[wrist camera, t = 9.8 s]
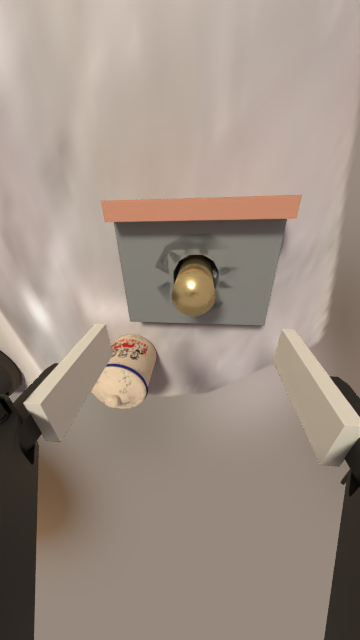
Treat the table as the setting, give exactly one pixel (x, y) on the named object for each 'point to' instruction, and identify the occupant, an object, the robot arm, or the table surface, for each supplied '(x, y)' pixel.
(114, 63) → the table surface
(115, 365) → the teacup with lid
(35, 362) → the table surface
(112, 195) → the table surface
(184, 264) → the brass cylinder
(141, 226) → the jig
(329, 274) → the table surface
